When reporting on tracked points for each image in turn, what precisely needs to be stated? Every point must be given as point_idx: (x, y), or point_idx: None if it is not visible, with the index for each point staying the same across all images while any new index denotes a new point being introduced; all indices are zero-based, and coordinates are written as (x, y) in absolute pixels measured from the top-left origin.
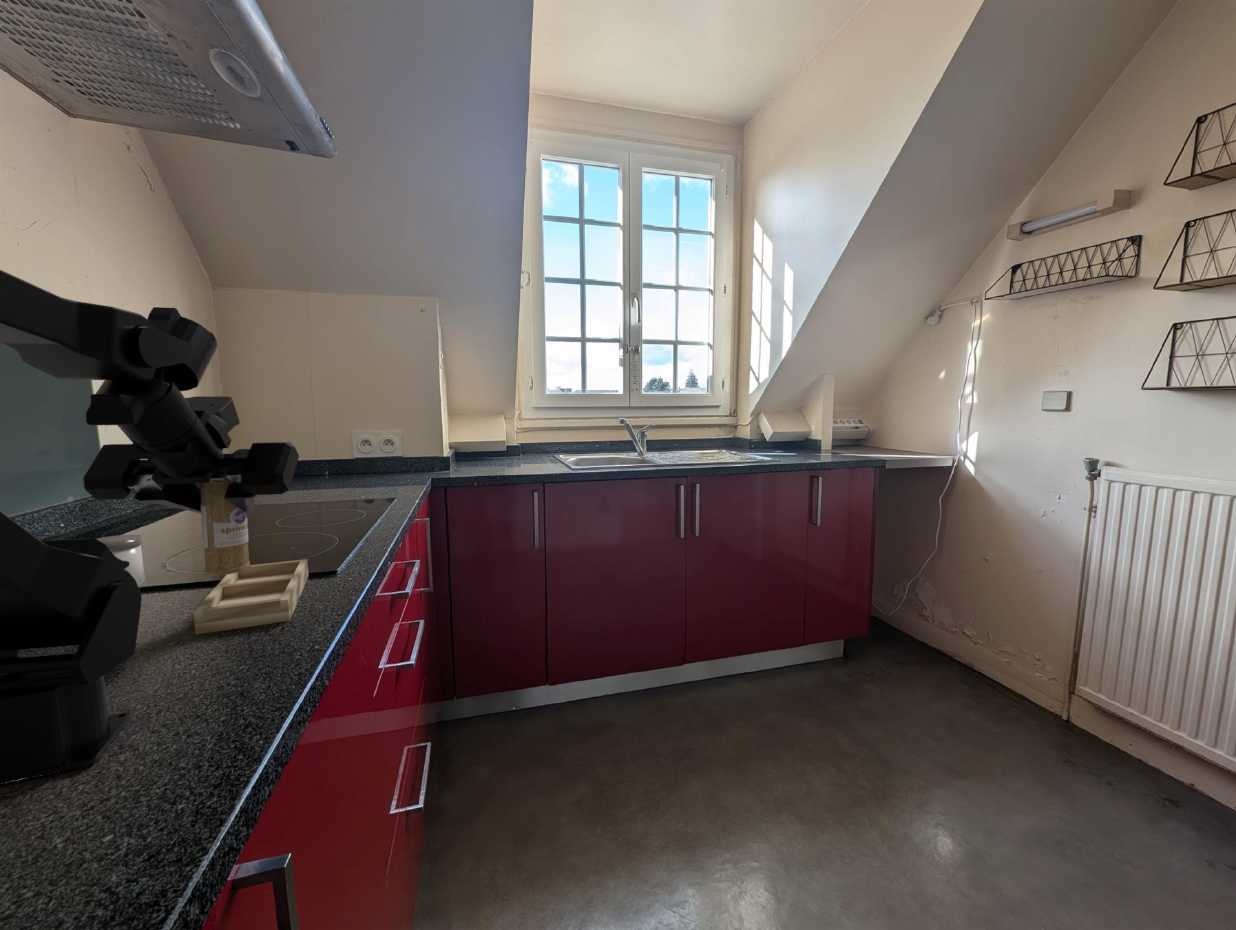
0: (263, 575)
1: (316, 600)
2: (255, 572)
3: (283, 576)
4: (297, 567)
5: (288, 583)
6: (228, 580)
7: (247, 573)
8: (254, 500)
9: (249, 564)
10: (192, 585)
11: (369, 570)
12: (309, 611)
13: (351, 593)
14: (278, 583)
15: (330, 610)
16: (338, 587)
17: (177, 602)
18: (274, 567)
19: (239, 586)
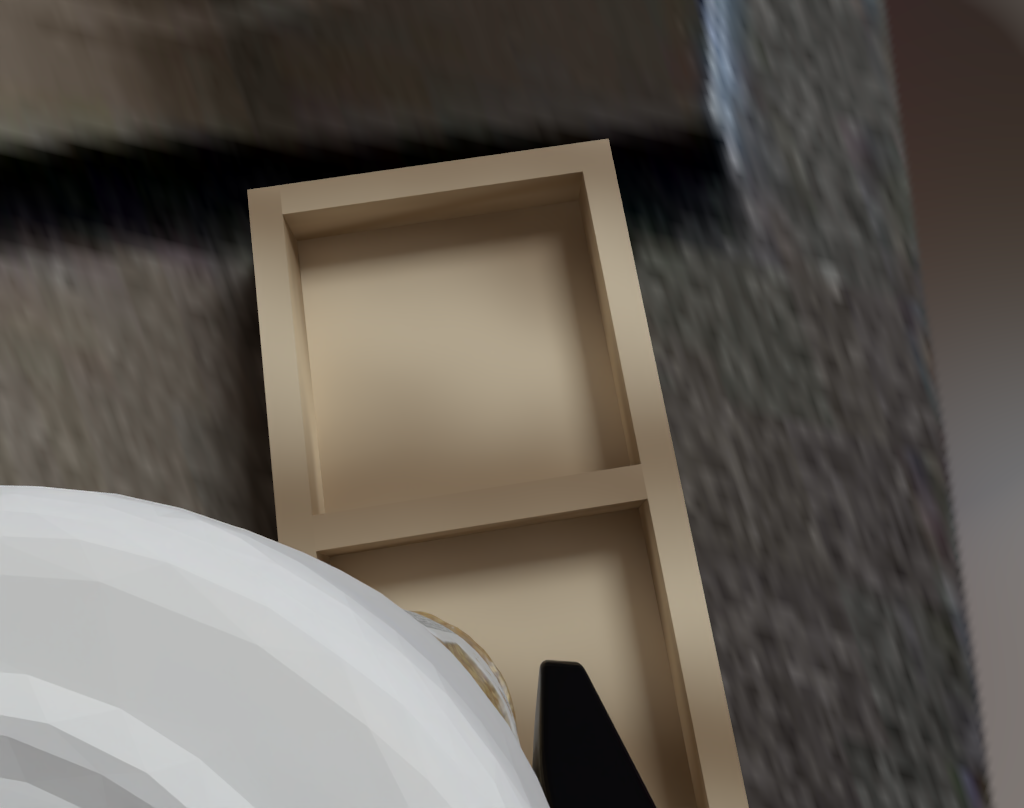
0: (404, 229)
1: (765, 581)
2: (364, 219)
3: (516, 273)
4: (608, 288)
5: (628, 504)
6: (304, 434)
7: (327, 225)
8: (618, 735)
9: (515, 723)
10: (71, 188)
11: (890, 168)
12: (786, 744)
13: (914, 519)
14: (581, 511)
15: (891, 759)
16: (813, 404)
17: (90, 426)
18: (453, 198)
19: (395, 540)
